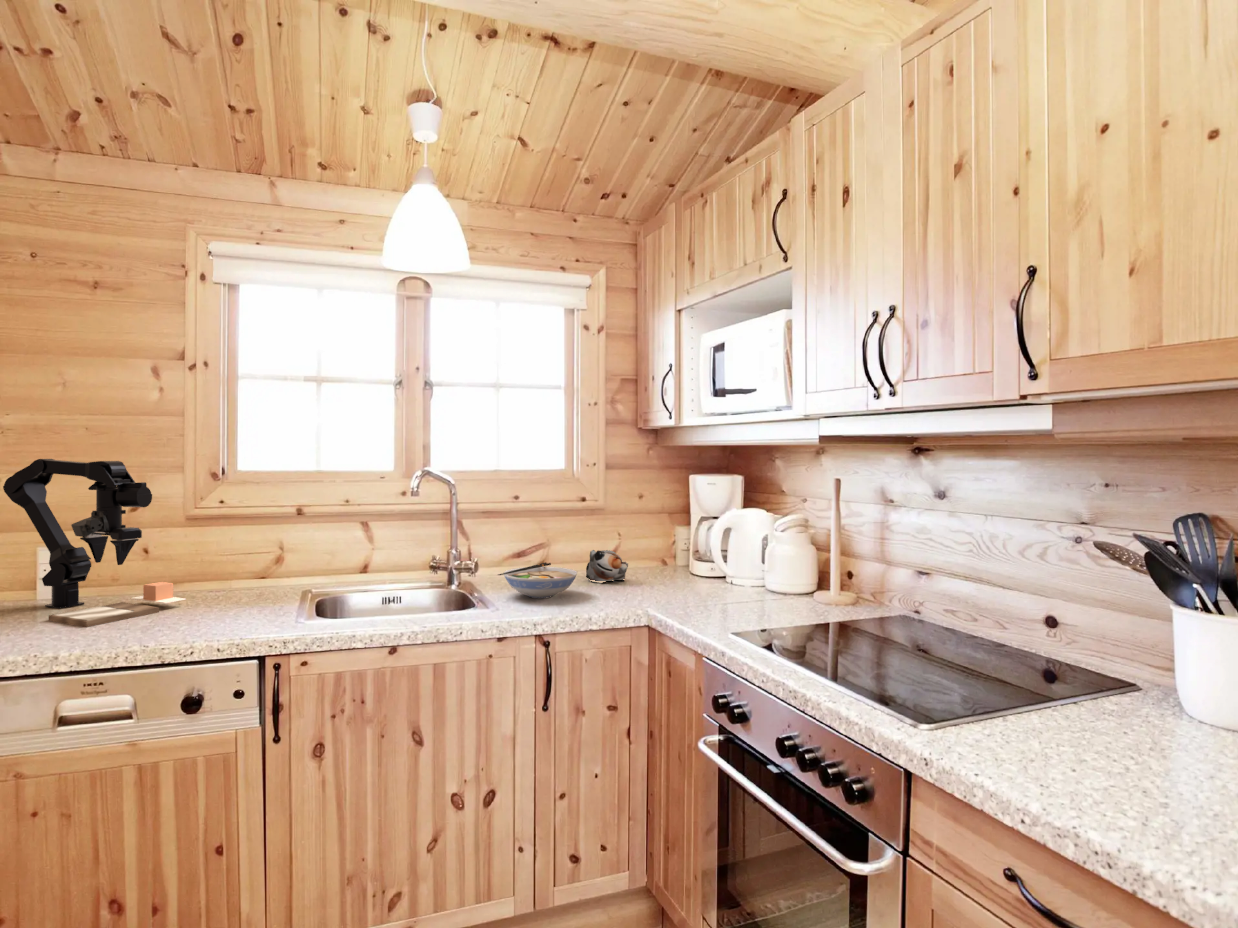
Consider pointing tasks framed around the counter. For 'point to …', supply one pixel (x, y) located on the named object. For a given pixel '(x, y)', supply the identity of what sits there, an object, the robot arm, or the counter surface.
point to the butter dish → (158, 593)
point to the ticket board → (103, 614)
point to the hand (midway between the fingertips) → (108, 563)
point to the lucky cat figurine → (605, 566)
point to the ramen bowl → (540, 580)
